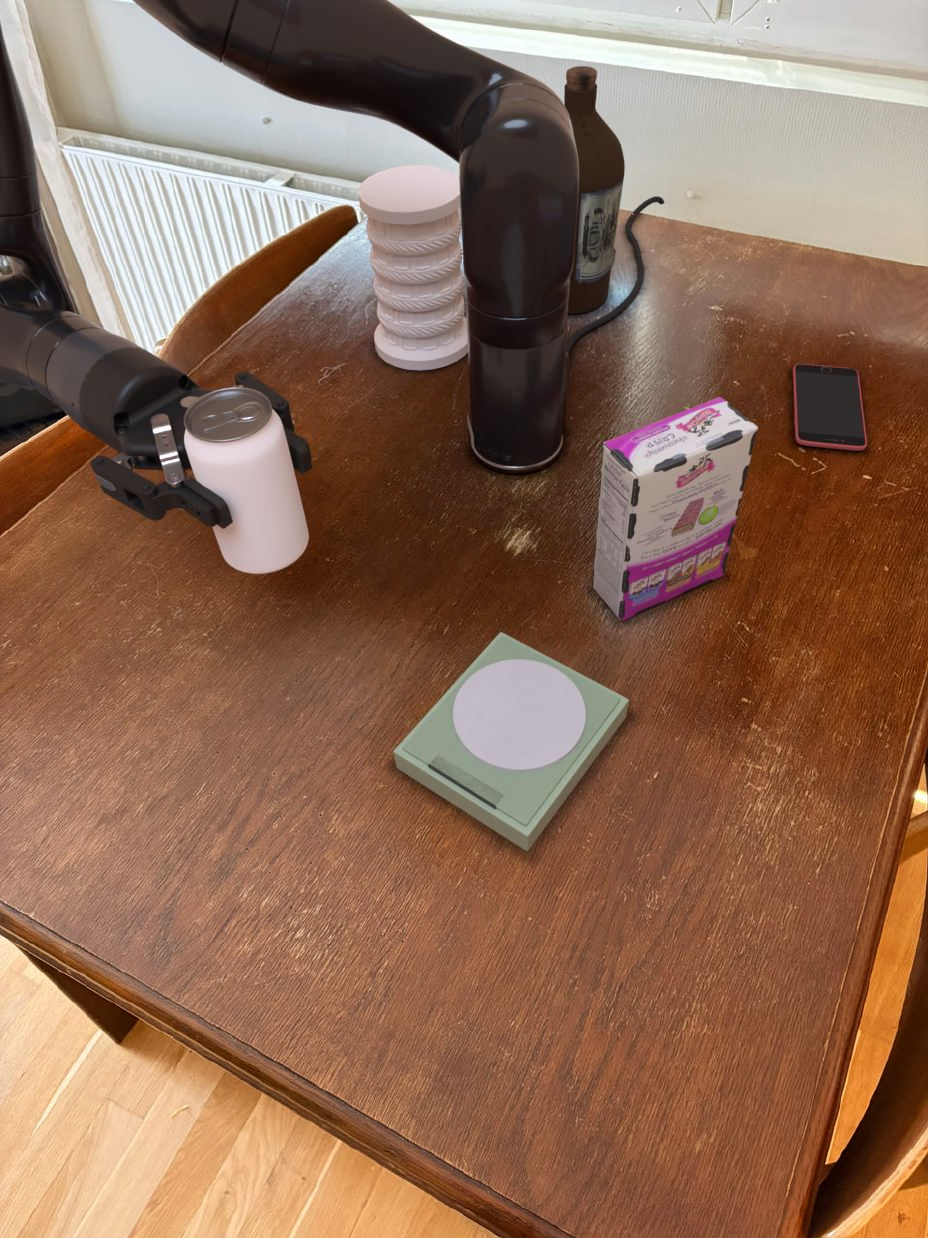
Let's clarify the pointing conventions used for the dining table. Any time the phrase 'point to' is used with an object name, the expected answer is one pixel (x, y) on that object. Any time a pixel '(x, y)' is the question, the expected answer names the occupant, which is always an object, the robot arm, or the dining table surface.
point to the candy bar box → (669, 505)
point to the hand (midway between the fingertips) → (267, 487)
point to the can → (248, 478)
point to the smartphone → (828, 407)
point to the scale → (512, 738)
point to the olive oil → (593, 192)
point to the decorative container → (416, 265)
